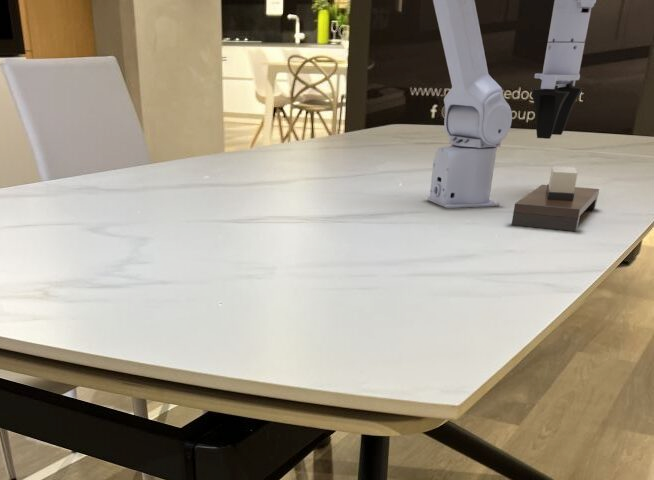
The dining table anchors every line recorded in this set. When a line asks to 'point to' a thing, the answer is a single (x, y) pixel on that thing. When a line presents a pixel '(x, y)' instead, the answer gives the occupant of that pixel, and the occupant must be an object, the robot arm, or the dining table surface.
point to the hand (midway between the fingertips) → (549, 136)
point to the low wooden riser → (553, 209)
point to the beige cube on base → (562, 183)
